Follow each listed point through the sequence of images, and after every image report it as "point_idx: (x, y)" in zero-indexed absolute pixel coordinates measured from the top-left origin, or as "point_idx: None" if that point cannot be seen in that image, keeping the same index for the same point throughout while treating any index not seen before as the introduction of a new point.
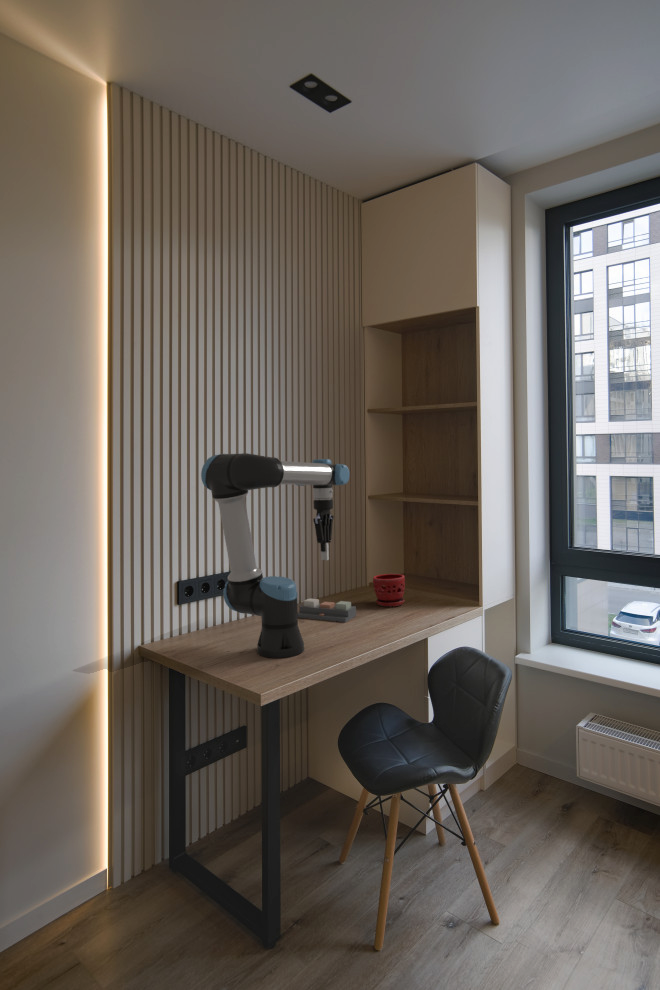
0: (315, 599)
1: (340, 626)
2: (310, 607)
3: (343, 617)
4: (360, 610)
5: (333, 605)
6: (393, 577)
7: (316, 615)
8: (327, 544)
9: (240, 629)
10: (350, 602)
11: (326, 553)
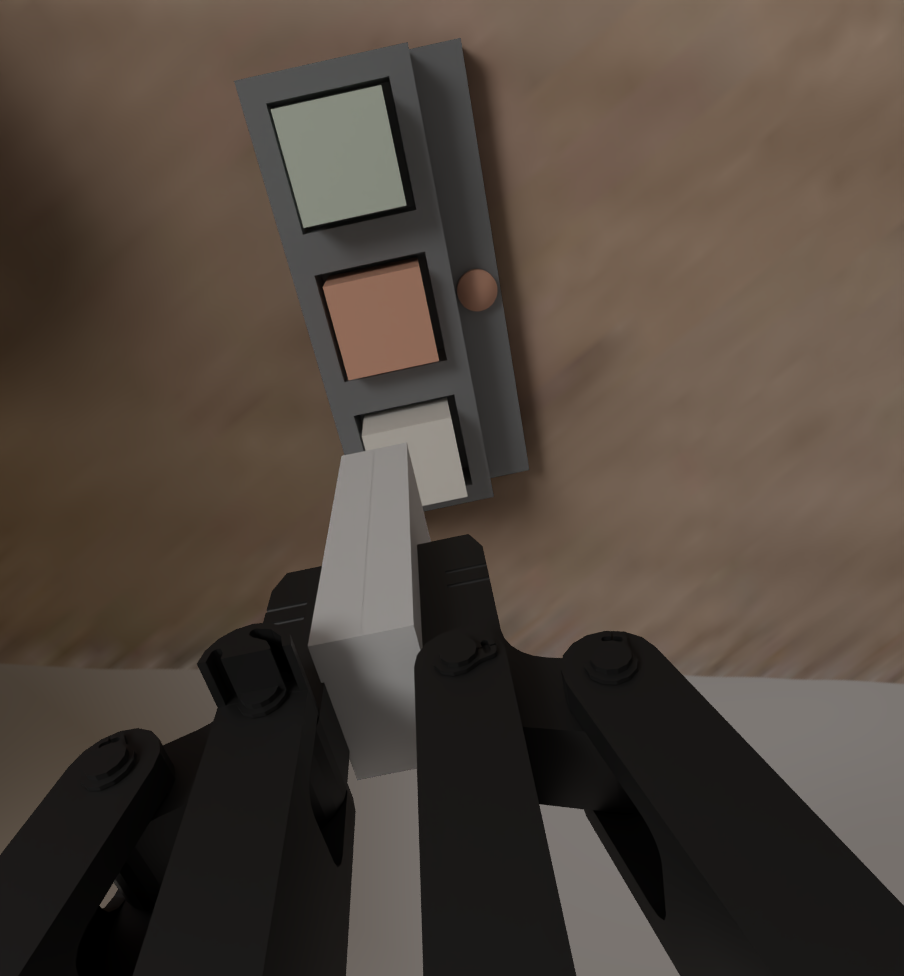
0: None
1: (571, 7)
2: (476, 411)
3: (440, 81)
4: (86, 177)
5: (349, 278)
6: None
7: (501, 320)
8: (366, 611)
9: (865, 543)
10: (281, 107)
11: (410, 504)
